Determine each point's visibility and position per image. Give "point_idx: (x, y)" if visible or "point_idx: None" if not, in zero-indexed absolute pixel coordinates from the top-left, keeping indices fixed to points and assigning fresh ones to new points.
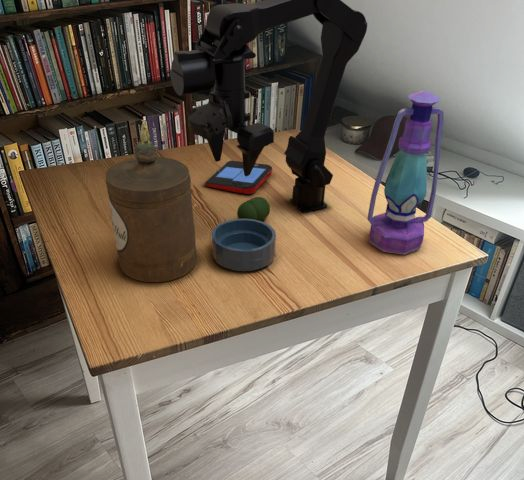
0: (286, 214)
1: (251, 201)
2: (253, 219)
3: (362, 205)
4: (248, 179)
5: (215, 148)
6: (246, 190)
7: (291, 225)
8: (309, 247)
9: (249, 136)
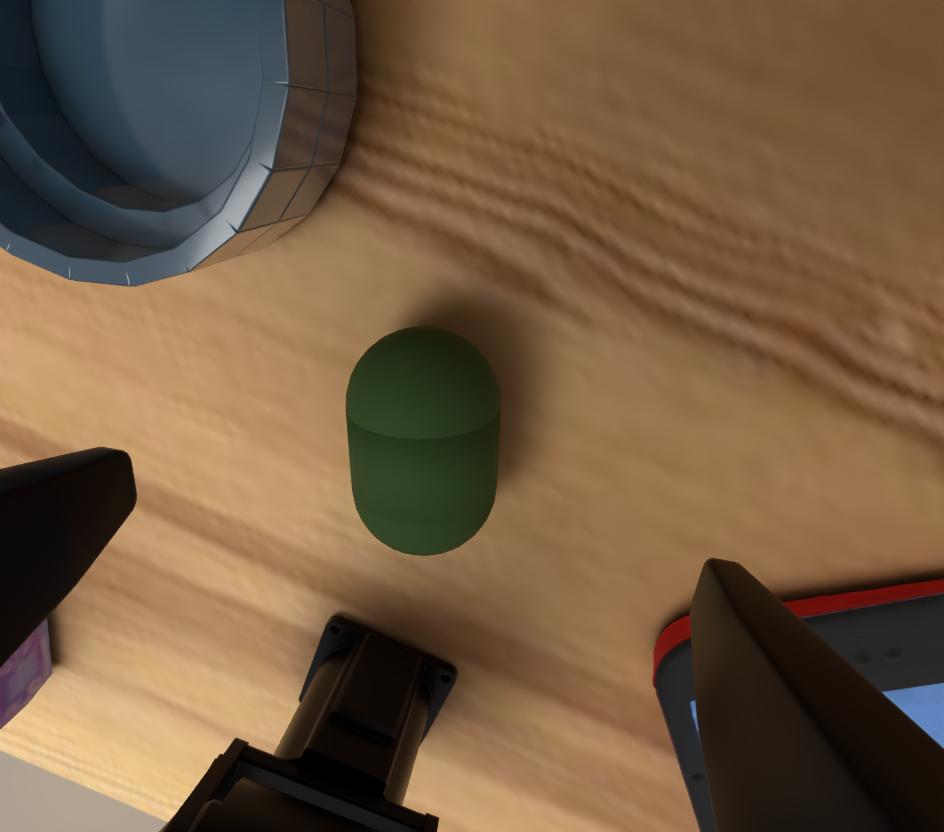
0: (379, 565)
1: (400, 459)
2: (188, 265)
3: None
4: None
5: (769, 733)
6: (683, 632)
7: (285, 497)
8: (83, 389)
9: None
